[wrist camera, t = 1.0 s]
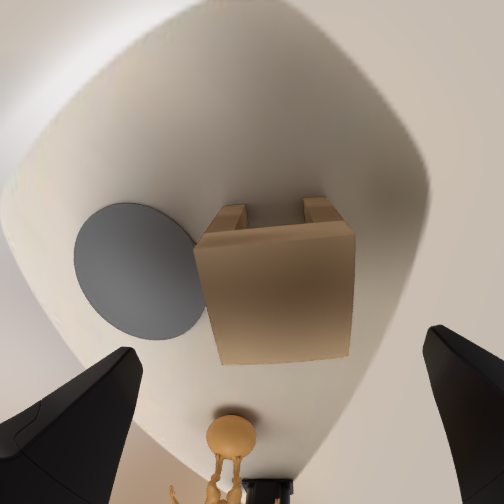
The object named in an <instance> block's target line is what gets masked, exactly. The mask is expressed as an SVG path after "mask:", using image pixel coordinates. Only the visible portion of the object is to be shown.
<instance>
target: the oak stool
mask: <svg viewBox="0 0 504 504" xmlns="http://www.w3.org/2000/svg"><path fill="white" fill-rule="evenodd" d="M303 203H304V216H305V222H306V224H295V225H284V226H273V227H263V228H252V229H247V228H248V220H247V213H246V206H245V204H239V205H230V206H223V207H222V209H221V210H220V211H219V213H218V214H217V216H216V217H215V218H214V220H213V221H212V223H211V224H210V226H209V227H208V229H207V230H206V231H205V233H204V234H203V236H202V237H201V239H200V240H199V242H198V243H197V245H196V246H195V247H194V249H193V252H194V256H195V261H196V265H197V269H198V274H199V278H200V282H201V287H202V291H203V295H204V299H205V303H206V307H207V311H208V315H209V319H210V323H211V327H212V330H213V334H214V338H215V342H216V345H217V349H218V353H219V356H220V360H221V363H222V365H250V364H273V363H289V362H302V361H313V360H323V359H332V358H340V357H348V355H349V346H350V336H351V325H352V312H353V297H354V277H355V234H354V232H353V231H352V230H351V228H350V227H349V226H348V224H347V223H346V222H345V221H344V219H343V218H342V217H341V215H340V214H339V213H338V211H337V210H336V209H335V208H334V206H333V205H332V204H331V203H330V201H329V200H328V199H327V198H326V196H324V197H311V198H303Z"/></svg>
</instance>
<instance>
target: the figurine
mask: <svg viewBox="0 0 504 504" xmlns="http://www.w3.org/2000/svg"><path fill="white" fill-rule="evenodd" d="M206 439H207V444H208V446H209V448H210V449H211V451H212V452H213V453H214V454H215V457H216V471H215V474H213V475H212V476H211V480H210V481H209V483H208V486H207V490H206V492H207V499H206V501H205V504H241V497H242V491H241V486H240V483H241V478H240V477H239V471H240V463H241V460H242V458H243V457H245V456H247V455H248V454H249V453H250V452H251V451H252V450H253V448H254V446H255V444H256V432H255V430H254V428H253V426H252V425H251V423H250V422H248V421H247V420H246V419H244V418H242V417H240V416H236V415H226V416H222V417H219V418H217V419H216V420H214V421H213V422H212V423H211V425H210V426H209V428H208V430H207V434H206ZM224 459H228V460H233V462H234V470H233V473H234V477H233V478H232V482H233V483H234V486H233V488H232V490H230V491H229V492H228V494H227V501H226V500H224V499H222V500H219V499H220V495H221V494H220V490H219V489H218V488H217V487H216V482H217V481H219V480H220V474H221V470H222V463H223V460H224ZM174 495H175V492H174V493H173V486H172V485H171V486H170V497H171V500H172V503H173V504H179V503H178V501H177V500H176V499H175V497H174ZM279 503H280V499H279V498H278V500H277V499H276V501H275V504H279Z"/></svg>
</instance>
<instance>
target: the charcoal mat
mask: <svg viewBox="0 0 504 504" xmlns="http://www.w3.org/2000/svg"><path fill="white" fill-rule="evenodd" d="M195 246H196V245H195V244H194V242H193V241H192V240H191V238H190V237H189V236H188V234H187V233H186V232H185V231H184V230H183V229H182V228H181V227H180V226H179V225H178V224H177V223H175V222H174V221H173V220H172V219H170V218H169V217H167V216H166V215H164V214H163V213H161V212H159V211H157V210H155V209H153V208H150V207H147V206H144V205H139V204H134V203H121V204H114V205H111V206H108V207H106V208H104V209H102V210H100V211H98V212H96V213H95V214H93V215H92V216H91V217H90V218H89V219H88V220H87V221H86V222H85V223H84V225H83V226H82V227H81V229H80V231H79V233H78V235H77V239H76V242H75V248H74V266H75V272H76V276H77V279H78V282H79V285H80V287H81V289H82V291H83V293H84V295H85V297H86V298H87V300H88V301H89V303H90V304H91V306H92V307H93V308H94V309H95V310H96V311H97V313H98V314H99V315H100V316H101V317H102V318H104V319H105V320H106V321H107V322H108V323H110V324H111V325H113V326H114V327H116V328H117V329H119V330H121V331H123V332H125V333H127V334H129V335H132V336H135V337H138V338H142V339H147V340H166V339H171V338H174V337H177V336H180V335H182V334H184V333H185V332H187V331H188V330H190V329H191V328H192V327H193V326H194V325H195V324H196V322H197V321H198V320H199V318H200V316H201V314H202V312H203V310H204V307H205V304H206V303H205V299H204V295H203V291H202V287H201V282H200V278H199V274H198V269H197V265H196V261H195V256H194V252H193V249H194V247H195Z"/></svg>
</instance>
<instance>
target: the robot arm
mask: <svg viewBox="0 0 504 504" xmlns="http://www.w3.org/2000/svg"><path fill="white" fill-rule="evenodd" d="M423 357H424V360H425V364H426V367H427V371H428V375H429V379H430V383H431V387H432V391H433V395H434V398H435V401H436V404H437V407H438V410H439V413H440V416H441V419H442V422H443V425H444V429H445V432H446V435H447V439H448V442H449V446H450V449H451V453H452V457H453V461H454V465H455V469H456V473H457V478H458V482H459V487H460V492H461V497H462V502H463V504H504V361H503V360H502V359H500V358H498V357H497V356H495V355H493V354H492V353H490V352H488V351H486V350H485V349H483V348H481V347H480V346H478V345H476V344H474V343H473V342H471V341H469V340H467V339H466V338H464V337H462V336H460V335H459V334H457V333H455V332H454V331H452V330H450V329H448V328H446V327H445V326H443V325H436V326H431V327H430V328H429V329H428V331H427V335H426V339H425V342H424V345H423ZM142 374H143V367H142V364H141V362H140V360H139V358H138V356H137V354H136V351H135V350H134V349H133V348H132V347H120V348H118V349H117V350H115V351H114V352H112V353H111V354H109V355H108V356H106V357H105V358H103V359H102V360H100V361H99V362H97V363H96V364H94V365H93V366H91V367H90V368H88V369H87V370H85V371H84V372H82V373H81V374H79V375H78V376H76V377H75V378H73V379H72V380H70V381H69V382H68V383H66V384H64V385H63V386H61V387H60V388H58V389H57V390H55V391H54V392H52V393H51V394H49V395H47V396H46V397H44V398H43V399H42V400H40V401H38V402H37V403H35V404H34V405H32V406H31V407H29V408H27V409H26V410H24V411H23V412H21V413H19V414H17V415H16V416H14V417H12V418H10V419H8V420H6V421H4V422H2V423H1V424H0V504H108V503H109V499H110V496H111V491H112V487H113V484H114V480H115V476H116V472H117V469H118V465H119V462H120V458H121V455H122V451H123V448H124V444H125V441H126V438H127V434H128V431H129V428H130V425H131V421H132V418H133V415H134V411H135V407H136V402H137V398H138V393H139V388H140V383H141V379H142ZM241 484H242V485H243V487H244V489H245V491H246V493H247V495H246V504H275V501H276V499H277V500H278V498H279V499H280V503H279V504H290V495H292V494H293V480H242V481H241Z"/></svg>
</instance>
